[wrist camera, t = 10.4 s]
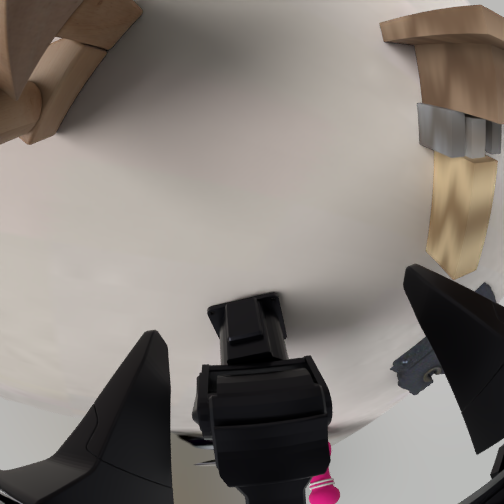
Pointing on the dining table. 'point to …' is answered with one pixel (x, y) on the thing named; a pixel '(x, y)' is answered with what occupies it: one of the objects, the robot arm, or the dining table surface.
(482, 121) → the tan oblong piece
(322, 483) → the pepper mill
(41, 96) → the wooden block
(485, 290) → the dark slate chunk
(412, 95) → the dining table surface
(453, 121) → the brown boxy piece
